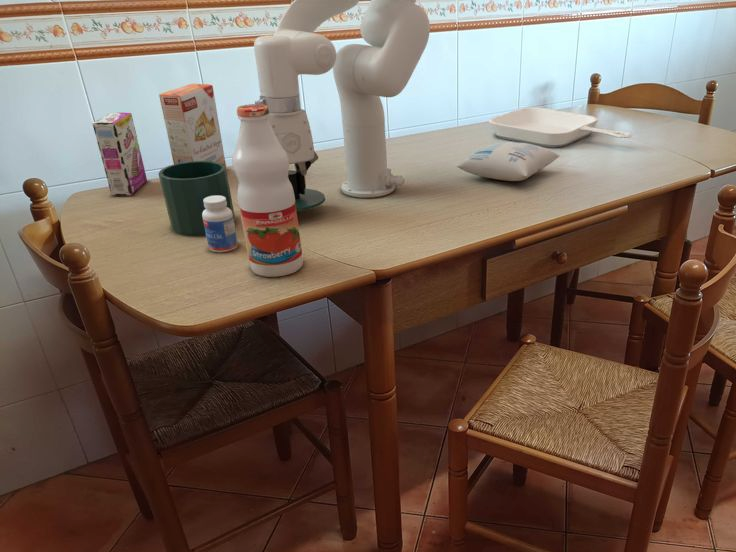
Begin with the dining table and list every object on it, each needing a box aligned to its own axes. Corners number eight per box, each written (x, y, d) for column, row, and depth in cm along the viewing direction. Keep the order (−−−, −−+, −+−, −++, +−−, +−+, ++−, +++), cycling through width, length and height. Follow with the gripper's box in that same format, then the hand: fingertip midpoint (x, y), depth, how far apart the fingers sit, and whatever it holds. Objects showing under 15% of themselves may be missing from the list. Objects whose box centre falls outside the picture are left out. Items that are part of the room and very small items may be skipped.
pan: (527, 120, 218) (528, 105, 216) (648, 140, 197) (650, 125, 195) (481, 136, 200) (481, 121, 197) (609, 161, 179) (611, 144, 176)
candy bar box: (133, 196, 152) (114, 123, 143) (111, 196, 152) (90, 123, 143) (149, 181, 162) (132, 111, 153) (128, 181, 161) (109, 111, 152)
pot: (245, 216, 142) (236, 163, 136) (215, 238, 131) (204, 181, 125) (193, 212, 144) (181, 159, 138) (159, 233, 134) (145, 177, 127)
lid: (334, 196, 146) (332, 166, 143) (310, 216, 135) (306, 184, 132) (277, 191, 149) (273, 161, 145) (248, 210, 137) (243, 179, 134)
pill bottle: (202, 250, 126) (192, 201, 121) (221, 240, 131) (211, 192, 125) (226, 255, 125) (216, 205, 120) (244, 244, 129) (235, 196, 124)
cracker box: (199, 186, 158) (180, 94, 147) (177, 184, 159) (156, 93, 148) (229, 169, 170) (213, 83, 159) (207, 168, 171) (190, 82, 160)
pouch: (495, 131, 174) (456, 145, 159) (561, 143, 167) (528, 159, 152) (493, 161, 179) (455, 178, 163) (558, 174, 171) (524, 193, 156)
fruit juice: (297, 253, 126) (276, 98, 111) (308, 272, 118) (287, 110, 104) (246, 261, 122) (217, 103, 108) (255, 282, 115) (225, 115, 100)
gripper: (249, 112, 124) (262, 206, 134) (327, 103, 133) (335, 192, 143) (233, 105, 129) (247, 197, 139) (310, 97, 138) (318, 183, 148)
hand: (292, 193), depth 141 cm, fingers closed on lid, 3 cm apart
